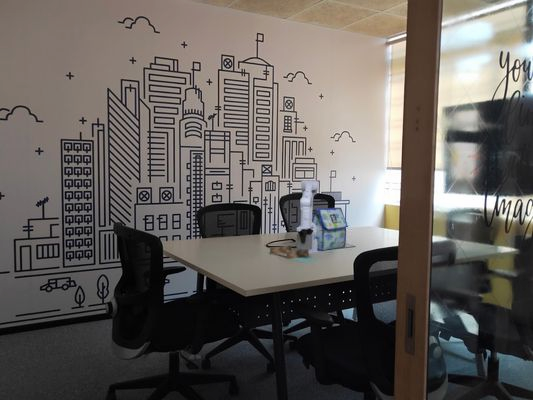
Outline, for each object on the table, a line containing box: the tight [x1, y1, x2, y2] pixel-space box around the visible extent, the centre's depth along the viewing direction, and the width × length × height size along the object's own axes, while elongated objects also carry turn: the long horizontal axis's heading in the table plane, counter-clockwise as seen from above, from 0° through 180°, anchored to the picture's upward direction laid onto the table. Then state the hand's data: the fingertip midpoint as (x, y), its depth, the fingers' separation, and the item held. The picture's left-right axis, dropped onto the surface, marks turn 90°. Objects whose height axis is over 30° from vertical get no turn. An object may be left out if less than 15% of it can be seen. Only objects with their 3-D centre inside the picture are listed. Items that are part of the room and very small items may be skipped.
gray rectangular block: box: [296, 233, 312, 250], centre depth 247 cm, size 4×8×8 cm, turn 51°
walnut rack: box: [269, 244, 310, 260], centre depth 259 cm, size 16×16×4 cm
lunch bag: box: [312, 207, 348, 252], centre depth 285 cm, size 22×17×26 cm
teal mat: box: [291, 256, 319, 263], centre depth 248 cm, size 12×9×1 cm
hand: (305, 242), depth 247 cm, fingers closed on gray rectangular block, 3 cm apart
